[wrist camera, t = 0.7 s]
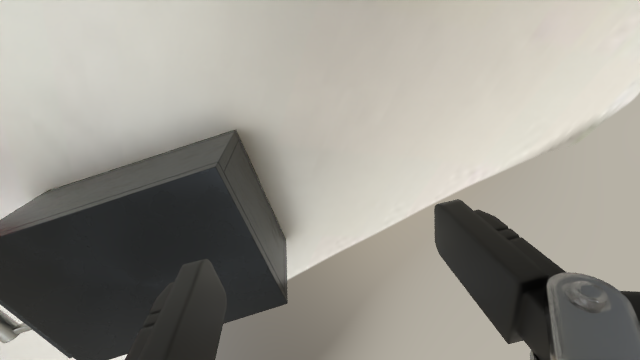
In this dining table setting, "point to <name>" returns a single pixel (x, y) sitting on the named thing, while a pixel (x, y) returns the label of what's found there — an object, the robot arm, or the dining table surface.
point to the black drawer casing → (141, 245)
